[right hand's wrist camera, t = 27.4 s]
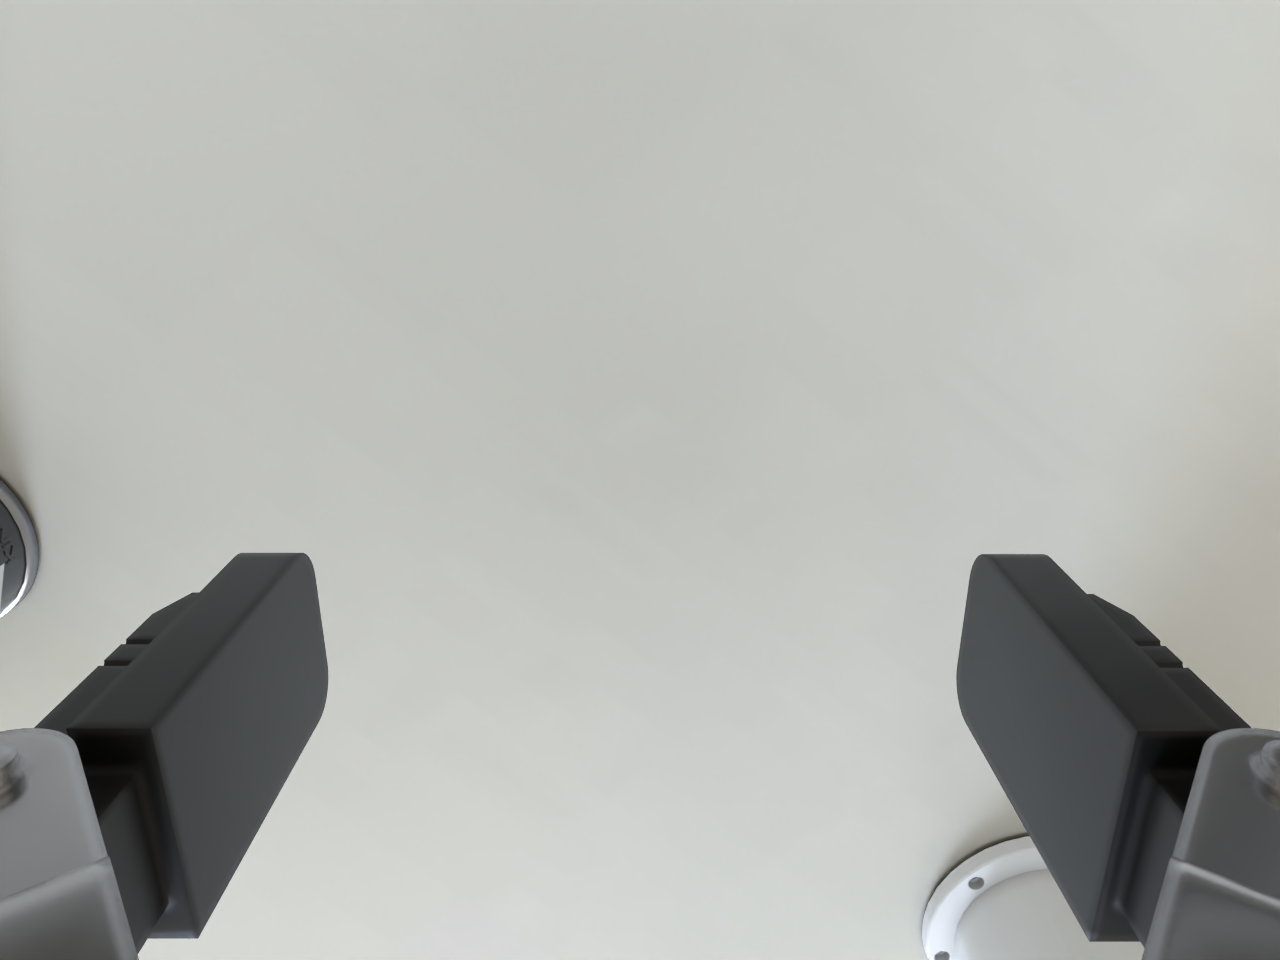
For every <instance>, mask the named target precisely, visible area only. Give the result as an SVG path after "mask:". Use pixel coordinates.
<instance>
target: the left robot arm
mask: <svg viewBox="0 0 1280 960" xmlns="http://www.w3.org/2000/svg"><path fill="white" fill-rule="evenodd" d="M922 939H923V944H924V950H925V953H926V955H927V958H928V960H1141V959H1142V955H1143V952H1144V947H1143V945H1142V944H1141V942H1089V940H1088V938H1087V937H1086V935H1085V933H1084V931H1083V930H1082V928H1081V926H1080V924H1079V922H1078V921H1077V919H1076V917H1075V915H1074V914H1073V912H1072V910H1071V908H1070V906H1069V905H1068V903H1067V901H1066V899H1065V898H1064V896H1063V894H1062V892H1061V891H1060V889H1059V887H1058V885H1057V883H1056V882H1055V880H1054V878H1053V876H1052V875H1051V873H1050V871H1049V869H1048V868H1047V866H1046V864H1045V862H1044V860H1043V859H1042V857H1041V855H1040V853H1039V852H1038V850H1037V848H1036V846H1035V844H1034V843H1033V841H1032V839H1031V837H1030V836H1026V837H1022V838H1017V839H1013V840H1009V841H1005V842H1002V843H999V844H997V845H994V846H992V847H989V848H987V849H984V850H982V851H981V852H979V853H977V854H976V855H974V856H972V857H970V858H969V859H967V860H965V861H964V862H963V863H962V864H960V865H959V866H958V867H957V868H955V869H954V870H953V871H952V872H950V873H949V875H948V876H947V877H946V878H945V879H944V880H943V881H942V883H941V884H940V885H939V886H938V887H937V889H936V890H935V892H934V894H933V896H932V897H931V899H930V901H929V902H928V905H927V908H926V911H925V914H924V917H923V925H922Z"/></svg>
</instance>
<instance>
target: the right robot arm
mask: <svg viewBox="0 0 1280 960" xmlns="http://www.w3.org/2000/svg"><path fill="white" fill-rule="evenodd" d="M38 560H39V553H38V544H37V538H36V535H35V531H34V528H33V526H32V523H31V521H30V519H29V517H28V515H27V513H26V511H25V509H24V508H23V506H22V504H21V503H20V502H19V500H18V499H17V497H16V496H15V495H14V494H13V493H12V491H11V490H10V489H9V488H8V487H7V486H6V485H5V484H4V483H3V482H2V481H1V480H0V617H2V616H3V615H4V614H6V613H7V612H9V611H10V610H11V609H13V608H14V607H15V606H17V605H18V604H19V603H20V602H21V601H22V600H23V599H24V597H25V596H26V595H27V594H28V592H29V590H30V589H31V587H32V585H33V582H34V580H35V577H36V574H37V569H38ZM1182 663H1183V662H1182V661H1181V660H1180V659H1178V658H1177V657H1176V656H1175V655H1174V654H1173V653H1172V652H1171V651H1170V650H1169V649H1168V648H1167V647H1166V646H1161V645H1160V640H1159V639H1157V638H1156V637H1155V636H1154V635H1153V634H1152V633H1151V632H1150V631H1149V630H1148V629H1147V628H1146V627H1145V626H1144V625H1143V624H1142V623H1141V622H1140V621H1139V620H1138V619H1136V618H1135V617H1134V616H1133V615H1131V614H1129V613H1127V612H1126V611H1124V610H1122V609H1120V608H1118V607H1116V606H1114V605H1113V604H1111V603H1109V602H1107V601H1105V600H1103V599H1101V598H1099V597H1098V596H1096V595H1094V594H1086V593H1085V592H1084V591H1083V590H1082V589H1081V588H1080V587H1079V586H1078V585H1077V584H1076V583H1075V582H1074V581H1073V580H1072V579H1071V578H1070V577H1069V576H1068V575H1067V574H1066V573H1065V572H1064V571H1063V570H1062V569H1061V568H1060V567H1059V566H1058V565H1057V564H1056V563H1055V562H1054V561H1053V560H1052V559H1051V558H1050V557H1049V556H1047V555H1045V554H981V555H979V556H978V557H977V558H976V560H975V562H974V564H973V566H972V570H971V574H970V580H969V587H968V594H967V601H966V608H965V615H964V622H963V629H962V637H961V644H960V651H959V658H958V665H957V693H958V700H959V705H960V709H961V712H962V715H963V718H964V720H965V722H966V724H967V726H968V728H969V729H970V731H971V733H972V735H973V736H974V738H975V740H976V742H977V744H978V745H979V747H980V749H981V751H982V752H983V754H984V756H985V758H986V759H987V761H988V763H989V765H990V767H991V768H992V770H993V772H994V774H995V775H996V777H997V779H998V781H999V782H1000V784H1001V786H1002V788H1003V790H1004V791H1005V793H1006V795H1007V797H1008V798H1009V800H1010V802H1011V804H1012V806H1013V807H1014V809H1015V811H1016V813H1017V814H1018V816H1019V818H1020V820H1021V821H1022V823H1023V825H1024V827H1025V829H1026V830H1027V832H1028V834H1029V836H1030V837H1031V839H1032V841H1033V843H1034V844H1035V846H1036V848H1037V850H1038V852H1039V853H1040V855H1041V857H1042V859H1043V860H1044V862H1045V864H1046V866H1047V868H1048V869H1049V871H1050V873H1051V875H1052V876H1053V878H1054V880H1055V882H1056V883H1057V885H1058V887H1059V889H1060V891H1061V892H1062V894H1063V896H1064V898H1065V899H1066V901H1067V903H1068V905H1069V906H1070V908H1071V910H1072V912H1073V914H1074V915H1075V917H1076V919H1077V921H1078V922H1079V924H1080V926H1081V928H1082V930H1083V931H1084V933H1085V935H1086V937H1087V938H1088V940H1089V942H1141V944H1142V945H1143V947H1144V952H1143V955H1142V959H1141V960H1280V732H1278V731H1273V730H1265V729H1257V728H1251V727H1250V726H1249V725H1248V724H1247V723H1246V722H1245V721H1244V720H1242V719H1241V718H1240V717H1239V716H1238V715H1237V714H1236V713H1235V712H1234V711H1233V710H1232V709H1231V708H1230V707H1229V706H1228V705H1227V704H1226V703H1225V702H1224V701H1223V700H1221V699H1220V698H1219V697H1218V696H1217V695H1216V694H1215V693H1214V692H1213V691H1212V690H1211V689H1210V688H1209V687H1208V686H1207V685H1206V684H1205V683H1204V682H1203V681H1202V680H1200V679H1199V678H1198V677H1197V676H1196V675H1195V674H1194V673H1193V672H1192V671H1191V670H1190V669H1189V668H1183V665H1182ZM327 690H328V665H327V658H326V650H325V643H324V636H323V629H322V622H321V614H320V607H319V600H318V593H317V586H316V578H315V572H314V568H313V565H312V562H311V560H310V558H309V557H308V556H307V555H306V554H304V553H240V554H238V555H237V556H235V557H234V558H233V559H232V560H231V561H230V562H229V563H228V564H227V565H226V566H225V567H224V568H223V569H222V570H221V571H220V572H219V573H218V574H217V575H216V576H215V577H214V578H213V579H212V581H211V582H210V583H209V584H208V585H207V586H206V587H205V588H204V589H203V590H202V591H201V592H200V593H191V594H189V595H187V596H185V597H184V598H182V599H180V600H178V601H176V602H174V603H172V604H171V605H169V606H167V607H165V608H163V609H161V610H159V611H157V612H156V613H154V614H152V615H151V616H150V617H149V618H148V619H147V620H146V621H145V622H144V623H143V624H142V625H141V626H140V627H139V628H138V629H137V630H136V631H134V632H133V633H132V634H131V635H130V636H129V637H128V638H127V639H126V644H121V645H120V646H119V647H118V648H117V649H116V650H115V651H114V652H113V653H112V654H111V655H110V656H108V657H107V658H106V659H105V660H104V666H98V667H97V668H96V669H95V670H94V671H93V672H92V673H91V674H90V675H89V676H88V677H87V678H86V679H85V680H83V681H82V682H81V683H80V684H79V685H78V686H77V687H76V688H75V689H74V690H73V691H72V692H71V693H70V694H69V695H68V696H67V697H66V698H65V699H64V700H63V701H62V702H61V703H60V704H59V705H57V706H56V707H55V708H54V709H53V710H52V711H51V712H50V713H49V714H48V715H47V716H46V717H45V718H44V719H43V720H42V721H41V722H40V723H39V724H38V725H37V726H36V727H35V728H23V729H15V730H7V731H2V732H0V960H139V959H138V955H137V954H138V953H139V951H140V950H141V948H142V946H143V945H144V943H145V942H146V940H147V938H198V937H199V936H200V934H201V932H202V930H203V928H204V927H205V925H206V923H207V921H208V919H209V918H210V916H211V914H212V912H213V910H214V909H215V907H216V905H217V903H218V902H219V900H220V898H221V896H222V894H223V893H224V891H225V889H226V887H227V885H228V884H229V882H230V880H231V878H232V876H233V875H234V873H235V871H236V869H237V867H238V866H239V864H240V862H241V860H242V858H243V857H244V855H245V853H246V851H247V849H248V848H249V846H250V844H251V842H252V841H253V839H254V837H255V835H256V833H257V832H258V830H259V828H260V826H261V824H262V823H263V821H264V819H265V817H266V815H267V814H268V812H269V810H270V808H271V806H272V805H273V803H274V801H275V799H276V797H277V796H278V794H279V792H280V790H281V789H282V787H283V785H284V783H285V781H286V780H287V778H288V776H289V774H290V772H291V771H292V769H293V767H294V765H295V763H296V762H297V760H298V758H299V756H300V754H301V753H302V751H303V749H304V747H305V745H306V744H307V742H308V740H309V738H310V737H311V735H312V733H313V731H314V729H315V728H316V726H317V724H318V722H319V720H320V718H321V716H322V713H323V710H324V707H325V702H326V697H327Z"/></svg>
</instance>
